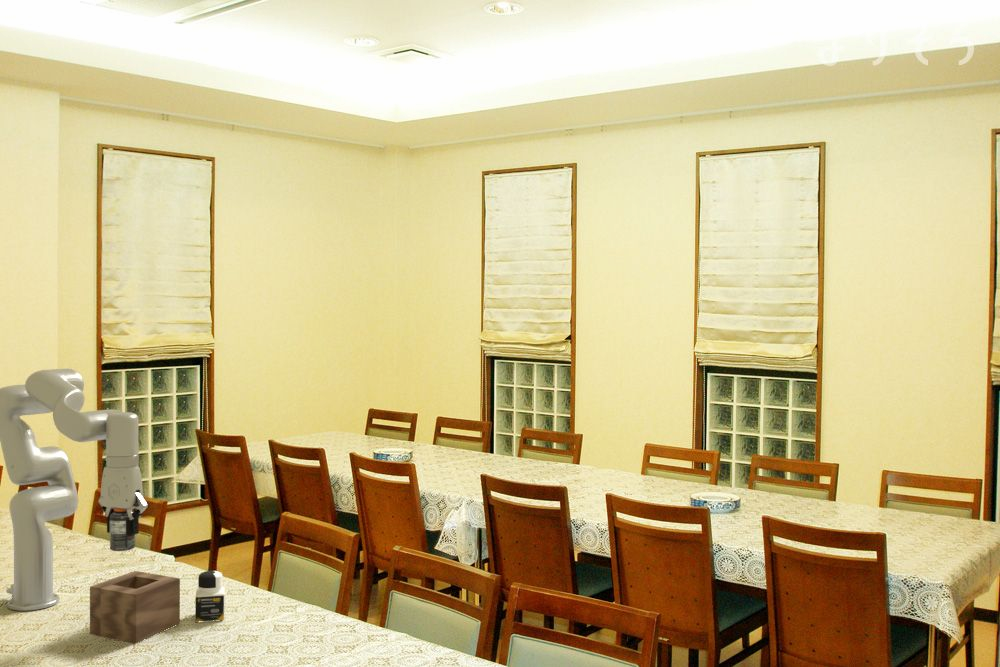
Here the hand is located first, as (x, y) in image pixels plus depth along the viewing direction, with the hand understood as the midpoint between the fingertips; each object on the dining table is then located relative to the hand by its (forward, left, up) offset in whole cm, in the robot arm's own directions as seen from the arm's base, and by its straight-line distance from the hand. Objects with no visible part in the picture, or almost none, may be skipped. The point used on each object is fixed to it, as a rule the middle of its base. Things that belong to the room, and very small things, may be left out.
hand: (122, 532), depth 235 cm
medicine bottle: (+13, +17, -25) cm, 33 cm away
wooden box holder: (+2, +2, -25) cm, 25 cm away
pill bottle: (0, 0, -4) cm, 4 cm away
